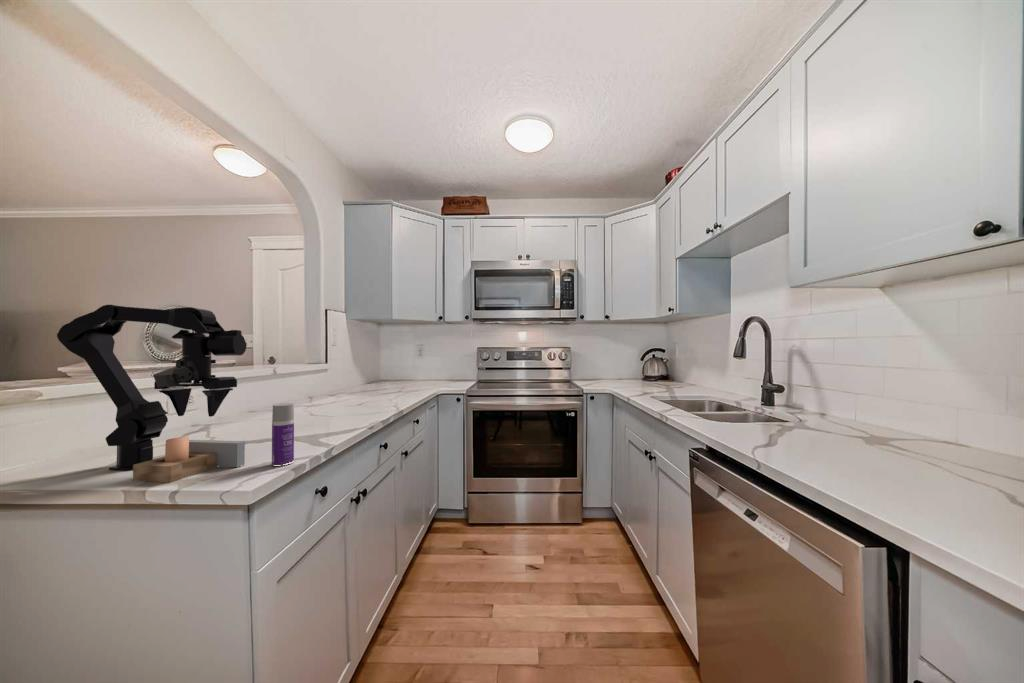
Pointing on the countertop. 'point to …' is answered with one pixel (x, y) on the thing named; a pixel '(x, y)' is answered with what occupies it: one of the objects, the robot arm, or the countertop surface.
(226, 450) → the backstop wall
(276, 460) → the container
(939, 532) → the countertop surface
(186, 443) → the dowel
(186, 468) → the socket block
